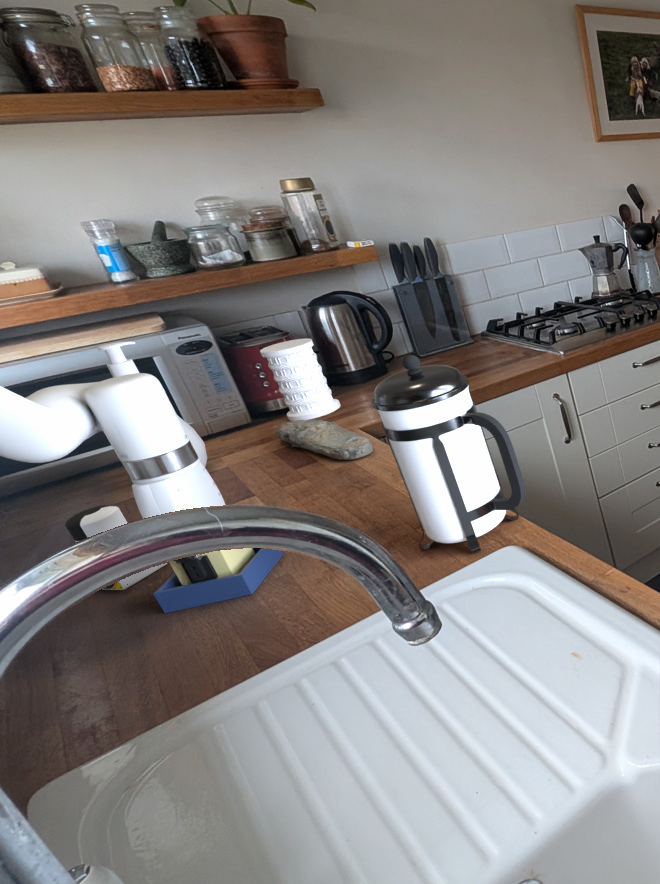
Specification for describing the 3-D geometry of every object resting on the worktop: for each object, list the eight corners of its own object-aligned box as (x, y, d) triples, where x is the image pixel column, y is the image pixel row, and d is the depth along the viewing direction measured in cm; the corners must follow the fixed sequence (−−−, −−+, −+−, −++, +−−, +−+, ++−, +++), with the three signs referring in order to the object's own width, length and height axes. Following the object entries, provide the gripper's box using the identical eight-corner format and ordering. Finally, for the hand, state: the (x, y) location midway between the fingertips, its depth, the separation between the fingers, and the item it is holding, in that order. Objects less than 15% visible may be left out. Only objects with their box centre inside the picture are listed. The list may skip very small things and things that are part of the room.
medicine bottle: (87, 590, 105) (44, 524, 100) (134, 562, 111) (96, 500, 106) (123, 591, 104) (82, 524, 99) (169, 563, 110) (132, 499, 105)
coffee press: (418, 575, 99) (340, 384, 86) (422, 526, 112) (356, 354, 100) (540, 537, 105) (484, 353, 93) (530, 495, 118) (480, 329, 106)
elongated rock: (341, 474, 139) (390, 455, 146) (333, 451, 136) (383, 433, 144) (265, 440, 156) (312, 425, 164) (257, 419, 154) (305, 405, 162)
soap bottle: (230, 470, 144) (163, 337, 132) (164, 496, 135) (86, 356, 123) (195, 459, 152) (129, 333, 140) (131, 483, 143) (55, 351, 131)
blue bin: (165, 613, 97) (153, 594, 95) (206, 569, 107) (196, 551, 105) (252, 594, 99) (241, 574, 97) (284, 553, 109) (275, 534, 108)
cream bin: (184, 589, 98) (168, 560, 96) (208, 564, 104) (193, 537, 102) (235, 578, 100) (220, 550, 98) (255, 554, 106) (242, 527, 104)
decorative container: (332, 415, 170) (303, 346, 163) (280, 424, 167) (249, 355, 160) (346, 400, 180) (320, 335, 173) (298, 408, 178) (269, 343, 170)
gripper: (167, 442, 102) (220, 542, 109) (88, 495, 86) (155, 608, 93) (223, 433, 103) (272, 532, 110) (155, 483, 87) (217, 595, 95)
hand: (218, 566), depth 102 cm, fingers closed on cream bin, 6 cm apart
